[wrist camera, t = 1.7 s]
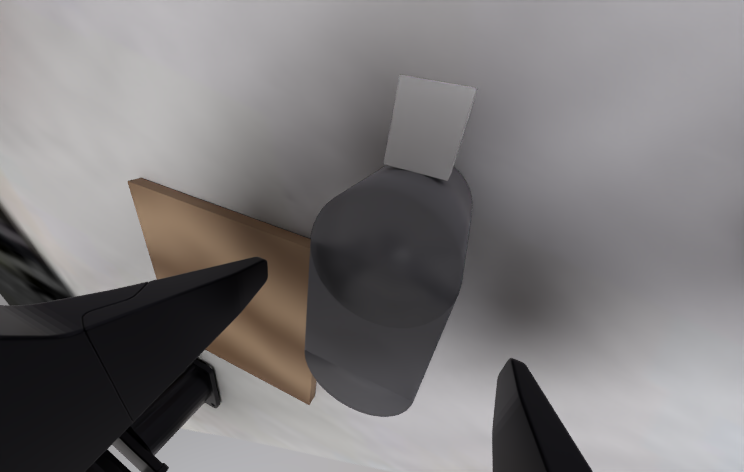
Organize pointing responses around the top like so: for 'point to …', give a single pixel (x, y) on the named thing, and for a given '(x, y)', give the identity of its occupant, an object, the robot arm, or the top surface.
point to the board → (229, 244)
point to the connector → (392, 256)
